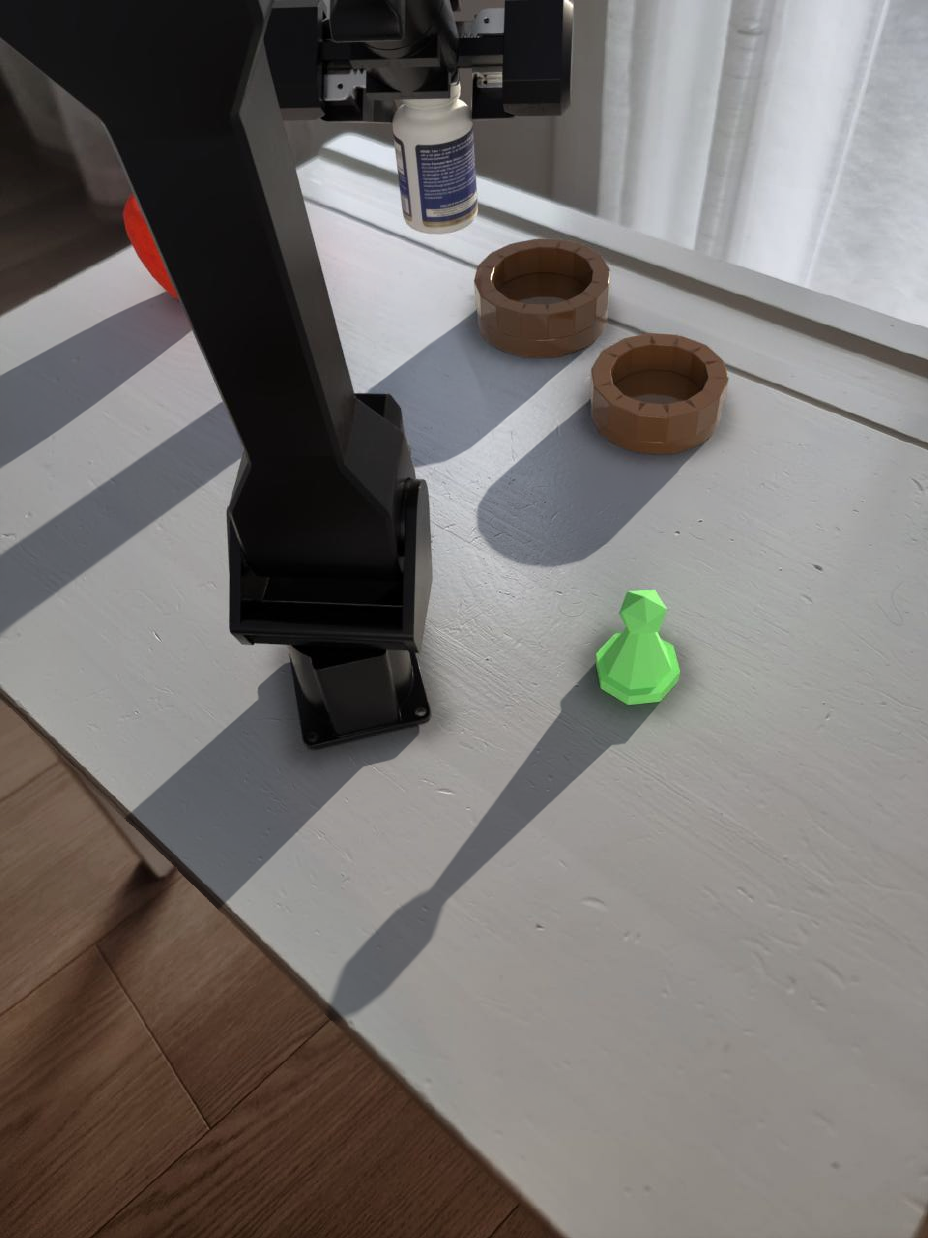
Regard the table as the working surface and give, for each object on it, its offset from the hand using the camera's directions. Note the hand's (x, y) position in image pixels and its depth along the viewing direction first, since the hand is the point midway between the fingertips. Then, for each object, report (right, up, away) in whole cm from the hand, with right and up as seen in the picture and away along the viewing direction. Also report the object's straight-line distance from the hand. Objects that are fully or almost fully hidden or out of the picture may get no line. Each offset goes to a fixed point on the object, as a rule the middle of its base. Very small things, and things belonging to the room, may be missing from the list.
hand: (435, 114), depth 67 cm
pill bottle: (0, -5, +4) cm, 7 cm away
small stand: (+14, -21, -4) cm, 25 cm away
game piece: (+11, -37, -16) cm, 42 cm away
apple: (-18, -9, +9) cm, 22 cm away
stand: (+7, -13, +3) cm, 15 cm away
